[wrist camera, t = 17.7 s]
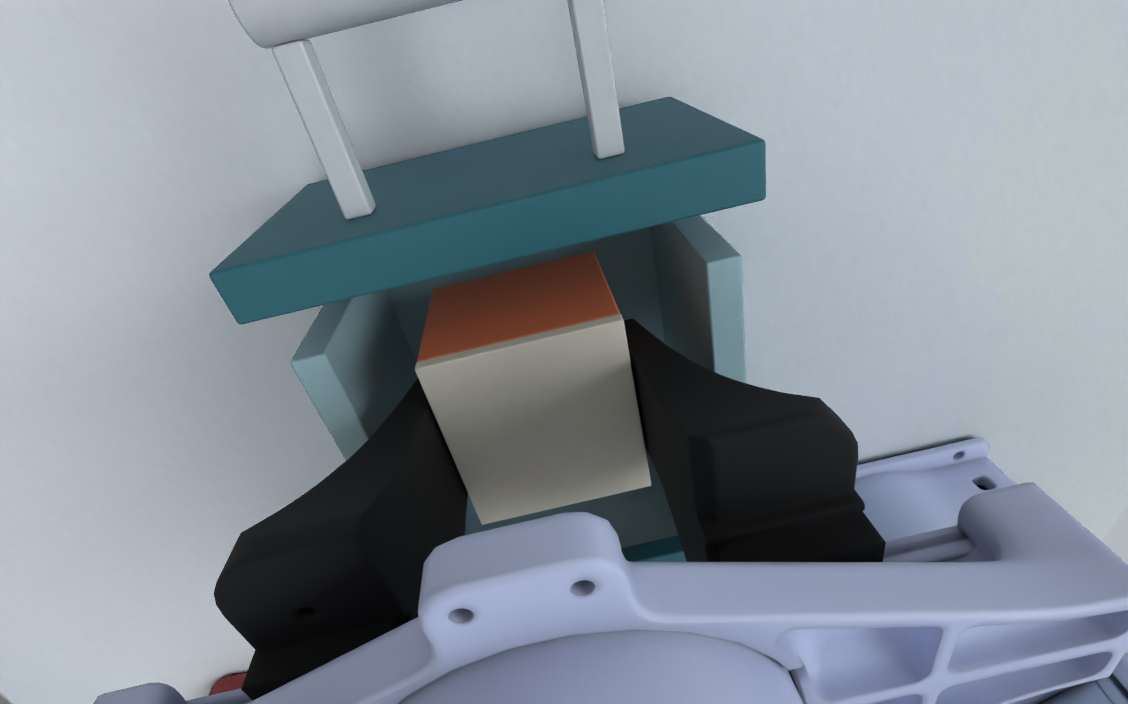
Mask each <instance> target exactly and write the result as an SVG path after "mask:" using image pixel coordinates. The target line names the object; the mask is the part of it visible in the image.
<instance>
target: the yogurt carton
mask: <svg viewBox="0 0 1128 704" xmlns="http://www.w3.org/2000/svg"><path fill="white" fill-rule="evenodd" d="M415 372H416V374H417V376H418V379H419V381H420V383H421V386H422V388H423V390H424V393H425V395H426V397H427V399H428V402H429V404H430V406H431V409H432V411H433V413H434V416H435V418H436V420H437V423H438V425H439V427H440V430H441V432H442V434H443V436H444V439H445V441H446V443H447V446H448V448H449V450H450V453H451V455H452V457H453V460H454V462H455V464H456V467H457V469H458V471H459V473H460V476H461V478H462V480H463V483H464V485H465V487H466V490H467V492H468V494H469V497H470V499H471V501H472V503H473V506H474V508H475V510H476V513H477V515H478V517H479V520H480V522H481V524H482V525H484V524H488V523H492V522H497V521H501V520H505V519H510V518H514V517H518V516H523V515H527V514H531V513H536V512H540V511H544V510H549V509H553V508H557V507H562V506H566V505H570V504H575V503H579V502H583V501H588V500H592V499H596V498H600V497H605V496H609V495H613V494H618V493H622V492H626V491H631V490H635V489H639V488H644V487H648V486H651V479H650V473H649V467H648V461H647V455H646V449H645V443H644V437H643V431H642V426H641V420H640V414H639V408H638V402H637V396H636V390H635V384H634V378H633V372H632V367H631V361H630V355H629V349H628V343H627V337H626V331H625V325H624V320H623V318H622V315H621V314H620V311H619V309H618V307H617V304H616V302H615V300H614V297H613V295H612V293H611V290H610V288H609V285H608V283H607V281H606V278H605V276H604V274H603V271H602V269H601V267H600V264H599V262H598V260H597V257H596V255H595V253H594V252H593V251H591V252H587V253H583V254H579V255H574V256H570V257H566V258H562V259H558V260H553V261H549V262H545V263H541V264H537V265H532V266H528V267H524V268H520V269H516V270H512V271H507V272H503V273H499V274H495V275H491V276H486V277H482V278H478V279H474V280H470V281H465V282H461V283H457V284H453V285H449V286H444V287H440V288H436V289H433V291H432V296H431V300H430V305H429V309H428V314H427V318H426V323H425V328H424V332H423V337H422V341H421V346H420V350H419V355H418V359H417V363H416V366H415Z"/></svg>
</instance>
